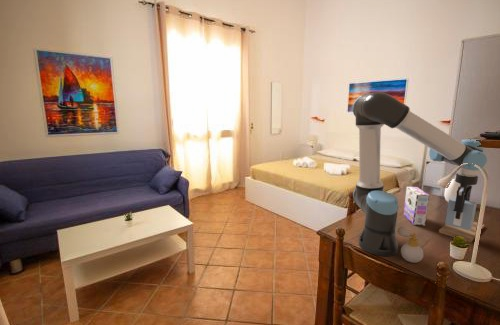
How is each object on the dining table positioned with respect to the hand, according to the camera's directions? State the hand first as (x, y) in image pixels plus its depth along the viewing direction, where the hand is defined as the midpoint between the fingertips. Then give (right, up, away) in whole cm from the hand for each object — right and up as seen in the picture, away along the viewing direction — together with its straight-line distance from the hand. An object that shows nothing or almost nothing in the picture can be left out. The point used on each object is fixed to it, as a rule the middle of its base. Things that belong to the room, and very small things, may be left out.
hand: (458, 223), depth 119 cm
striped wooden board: (+7, -5, +6) cm, 10 cm away
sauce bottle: (+27, +3, +39) cm, 48 cm away
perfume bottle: (-34, -10, -17) cm, 40 cm away
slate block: (0, -1, 0) cm, 1 cm away
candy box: (-10, -3, +17) cm, 20 cm away
